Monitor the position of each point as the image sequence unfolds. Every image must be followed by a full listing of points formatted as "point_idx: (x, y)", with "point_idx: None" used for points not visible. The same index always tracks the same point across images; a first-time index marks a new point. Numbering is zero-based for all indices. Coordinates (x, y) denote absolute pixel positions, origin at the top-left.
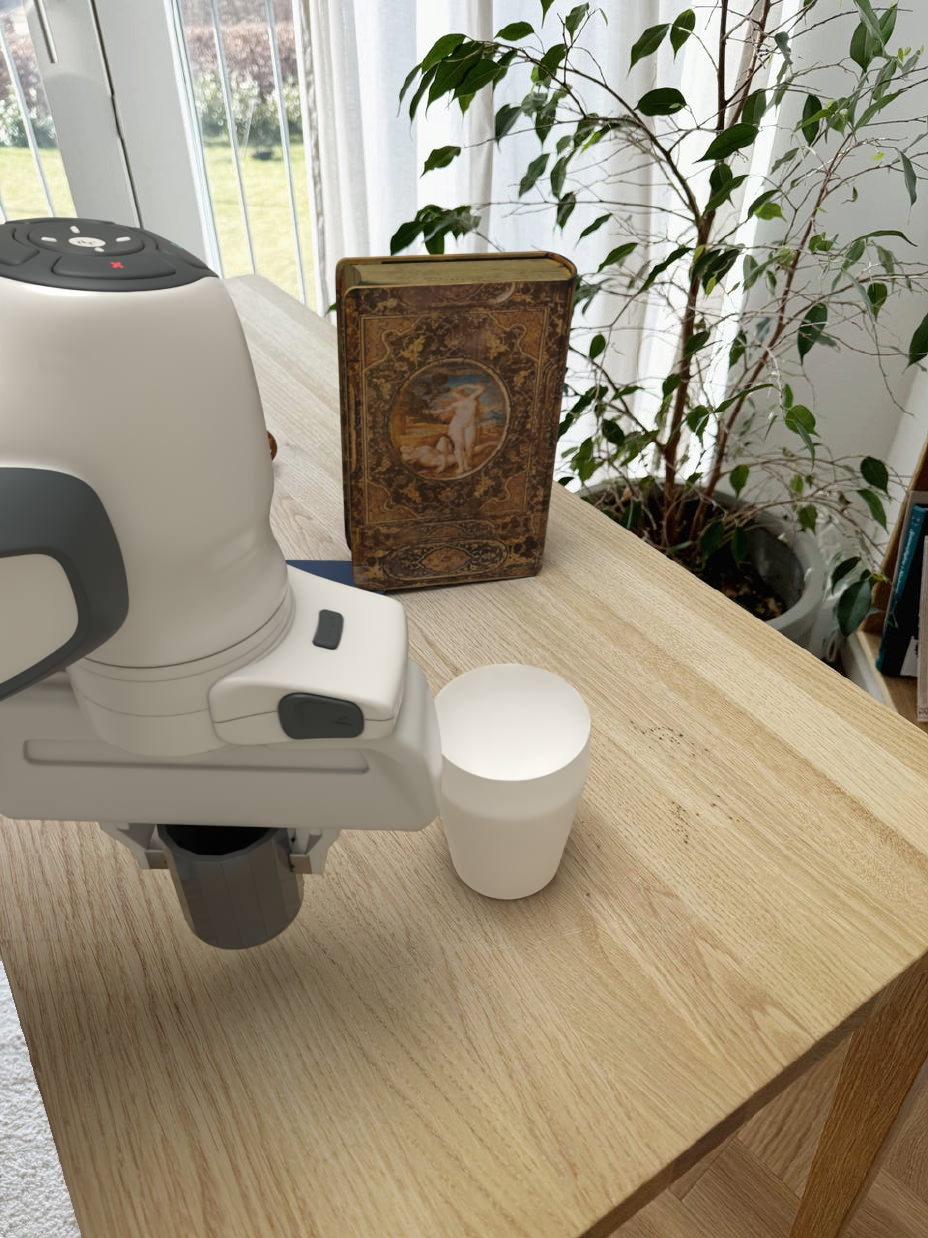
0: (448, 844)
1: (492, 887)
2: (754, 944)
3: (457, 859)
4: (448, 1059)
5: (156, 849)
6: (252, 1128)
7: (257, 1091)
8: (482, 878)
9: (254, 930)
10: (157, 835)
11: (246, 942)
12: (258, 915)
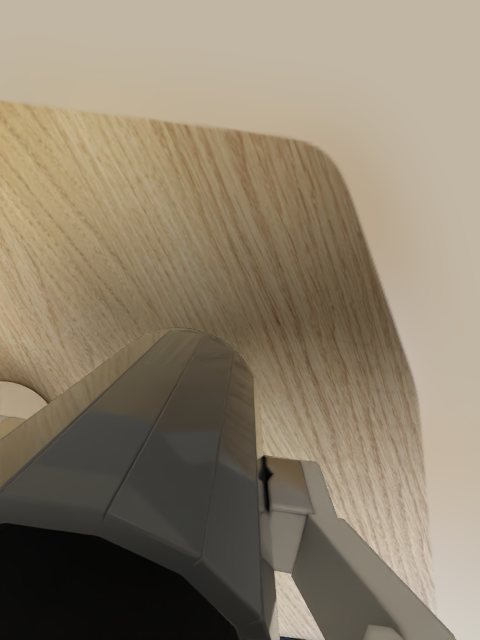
0: None
1: (4, 391)
2: None
3: None
4: (51, 249)
5: (286, 513)
6: (208, 210)
7: (206, 241)
8: (2, 400)
9: (142, 341)
10: (287, 543)
11: (163, 331)
12: (115, 356)
